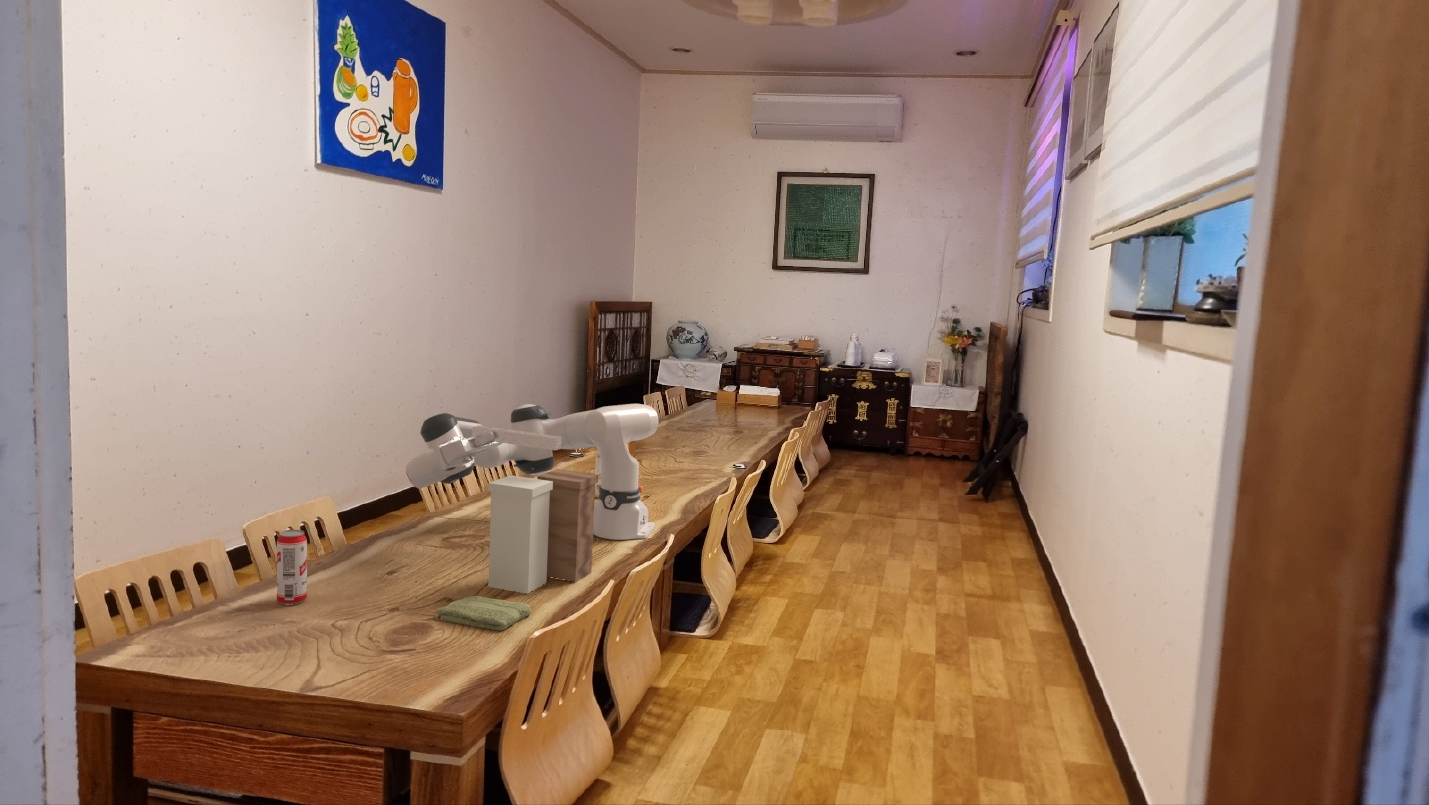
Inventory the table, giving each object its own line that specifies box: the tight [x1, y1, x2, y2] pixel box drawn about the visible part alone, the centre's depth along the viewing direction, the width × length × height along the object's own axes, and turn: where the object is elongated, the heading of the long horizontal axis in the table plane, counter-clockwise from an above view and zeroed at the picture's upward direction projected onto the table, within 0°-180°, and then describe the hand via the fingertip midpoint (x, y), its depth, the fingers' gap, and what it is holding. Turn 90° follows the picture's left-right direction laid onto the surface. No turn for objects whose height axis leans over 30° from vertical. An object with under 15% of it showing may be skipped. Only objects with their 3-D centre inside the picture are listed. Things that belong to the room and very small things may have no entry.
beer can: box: [276, 529, 308, 606], centre depth 215 cm, size 6×6×16 cm
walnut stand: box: [536, 468, 598, 583], centre depth 245 cm, size 10×12×26 cm
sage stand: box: [487, 475, 553, 595], centre depth 234 cm, size 10×12×26 cm
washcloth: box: [436, 595, 532, 632], centre depth 214 cm, size 13×18×3 cm
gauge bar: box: [472, 424, 562, 451], centre depth 242 cm, size 3×24×3 cm, turn 70°
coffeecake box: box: [594, 446, 601, 498], centre depth 335 cm, size 15×7×20 cm, turn 179°
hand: (498, 433), depth 243 cm, fingers closed on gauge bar, 3 cm apart
